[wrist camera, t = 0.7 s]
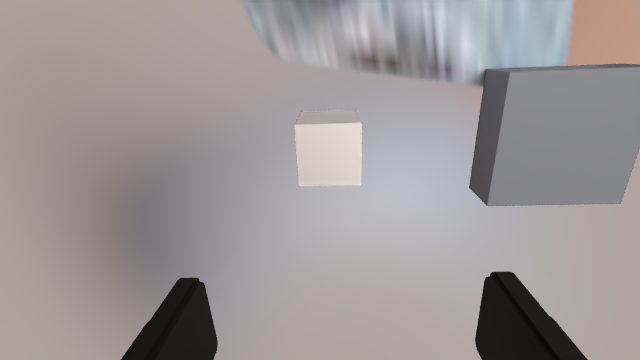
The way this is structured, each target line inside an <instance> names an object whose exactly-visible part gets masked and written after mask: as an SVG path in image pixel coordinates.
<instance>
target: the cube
mask: <svg viewBox="0 0 640 360" xmlns="http://www.w3.org/2000/svg"><path fill="white" fill-rule="evenodd" d="M294 128H295V142H296V156H297V170H298V183H299V187H301V186H302V187H304V186H350V185H361V161H362V160H361V159H362V157H361V156H362V155H361V154H362V122H361V119H360V117H359V114H358V112H357V109H345V110H316V111H302V112H301V114H300V115H299V117H298V119H297V121H296V123H295V124H294Z"/></svg>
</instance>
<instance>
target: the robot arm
mask: <svg viewBox="0 0 640 360" xmlns="http://www.w3.org/2000/svg"><path fill="white" fill-rule="evenodd" d="M475 341H476V347H477V350H478V352H479V355H480V357H481V359H482V360H587V358H586V357H585V356H584V355H583V354H582V353H581V351H580V350H579V349H578V348H577V347H576V345H575V344H574V343H573V342H572V341H571V339H570V338H569V337H568V336H567V335H566V333H565V332H564V331H563V330H562V329H561V327H560V326H559V325H558V324H557V322H556V321H555V320H554V319H553V318H552V317H550V316H549V315H548V314H547V313H546V312H545V311H544V309H543V308H542V307H541V306H540V304H539V303H538V302H537V301H536V300H535V298H534V297H533V296H532V295H531V294H530V292H529V291H528V290H527V289H526V288H525V286H524V285H523V284H522V283H521V281H520V280H519V279H518V278H517V277H516V275H515V274H514V273H512V272H492V273H491V274H490V277H486V278H485V281H484V288H483V294H482V300H481V306H480V312H479V319H478V326H477V332H476V338H475ZM216 351H217V337H216V332H215V329H214V324H213V319H212V315H211V311H210V306H209V302H208V297H207V294H206V289H205V285H204V283H203V282H200V281H199V279H198V278H180V279H179V280H178V281H177V282H176V284H175V285H174V286H173V288H172V289H171V291H170V292H169V294H168V295H167V297H166V298H165V299H164V301H163V302H162V304H161V305H160V307H159V308H158V310H157V311H156V312H155V314H154V315H153V317H152V318H151V320H150V321H149V322H148V323H147V324H146V325H145V326H144V328H143V329H142V330H141V332H140V333H139V335H138V336H137V338H136V339H135V340H134V342H133V343H132V345H131V346H130V347H129V349H128V350H127V352H126V353H125V355H124V356H123V357H122V359H121V360H213V359H214V356H215V354H216Z"/></svg>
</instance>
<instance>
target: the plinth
mask: <svg viewBox="0 0 640 360" xmlns="http://www.w3.org/2000/svg"><path fill="white" fill-rule="evenodd" d="M639 149H640V65H637V64H606V65H580V66H555V67H530V68H506V69H486V75H485V81H484V88H483V95H482V102H481V109H480V116H479V123H478V130H477V137H476V145H475V152H474V158H473V165H472V172H471V179H470V186H469V188H470V189H471V190H472V191H473V192H474V193H475V194H476V195H477V196H478V197H479V198H480V199H481V200H482V201H483V202H484V203H485V204H486V205H487V206H511V205H512V206H515V205H570V204H571V205H572V204H621V201H622V198H623V195H624V193H625V190H626V186H627V184H628V181H629V178H630V175H631V172H632V169H633V166H634V163H635V160H636V158H637V155H638V152H639Z"/></svg>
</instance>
